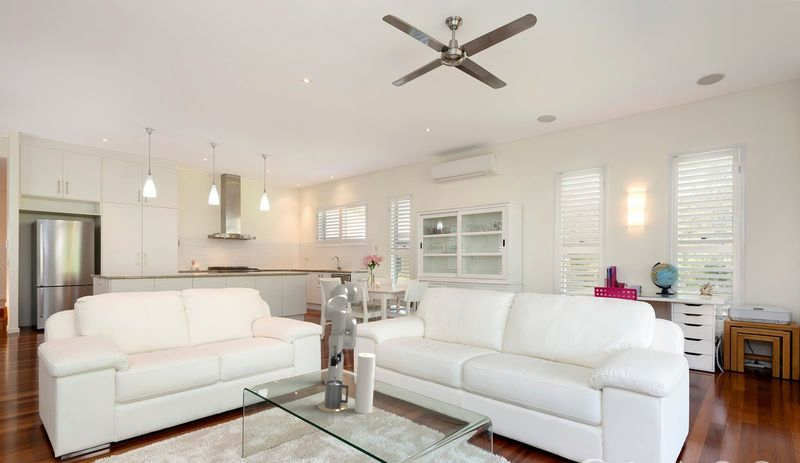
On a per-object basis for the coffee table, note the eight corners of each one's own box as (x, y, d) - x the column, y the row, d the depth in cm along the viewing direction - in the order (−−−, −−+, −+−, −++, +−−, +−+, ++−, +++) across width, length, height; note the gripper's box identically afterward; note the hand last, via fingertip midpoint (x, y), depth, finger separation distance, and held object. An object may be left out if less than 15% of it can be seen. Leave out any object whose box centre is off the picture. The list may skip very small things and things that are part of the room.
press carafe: (323, 400, 238) (324, 376, 239) (350, 403, 236) (352, 379, 237) (313, 410, 222) (315, 385, 223) (343, 413, 220) (344, 388, 221)
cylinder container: (369, 414, 222) (373, 357, 223) (352, 412, 223) (356, 355, 225) (373, 408, 231) (377, 353, 232) (357, 406, 233) (361, 351, 234)
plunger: (330, 382, 233) (332, 355, 234) (341, 384, 233) (343, 356, 233) (326, 386, 227) (328, 358, 228) (338, 387, 226) (340, 359, 227)
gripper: (335, 328, 240) (333, 359, 239) (326, 334, 223) (324, 367, 222) (348, 329, 239) (346, 360, 238) (340, 335, 222) (338, 368, 221)
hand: (335, 363), depth 230 cm, fingers open, 8 cm apart
